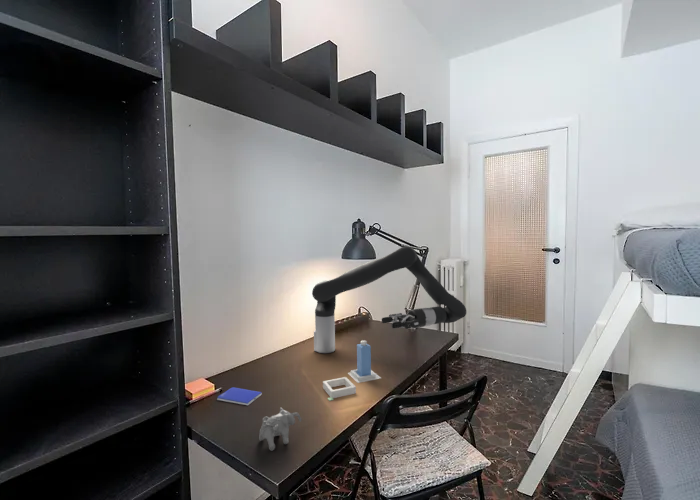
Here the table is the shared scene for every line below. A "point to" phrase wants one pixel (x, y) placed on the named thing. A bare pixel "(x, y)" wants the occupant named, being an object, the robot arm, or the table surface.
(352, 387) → the frame
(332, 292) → the robot arm
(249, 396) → the hard drive
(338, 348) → the table surface
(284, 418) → the elephant statuette
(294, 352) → the table surface
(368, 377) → the white square tray
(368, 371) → the blue square bottle
